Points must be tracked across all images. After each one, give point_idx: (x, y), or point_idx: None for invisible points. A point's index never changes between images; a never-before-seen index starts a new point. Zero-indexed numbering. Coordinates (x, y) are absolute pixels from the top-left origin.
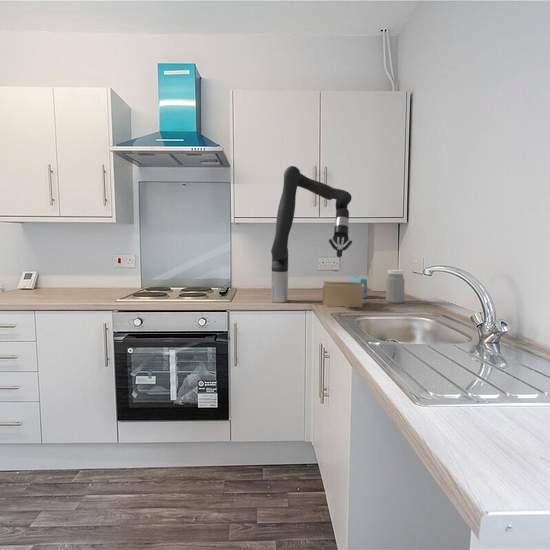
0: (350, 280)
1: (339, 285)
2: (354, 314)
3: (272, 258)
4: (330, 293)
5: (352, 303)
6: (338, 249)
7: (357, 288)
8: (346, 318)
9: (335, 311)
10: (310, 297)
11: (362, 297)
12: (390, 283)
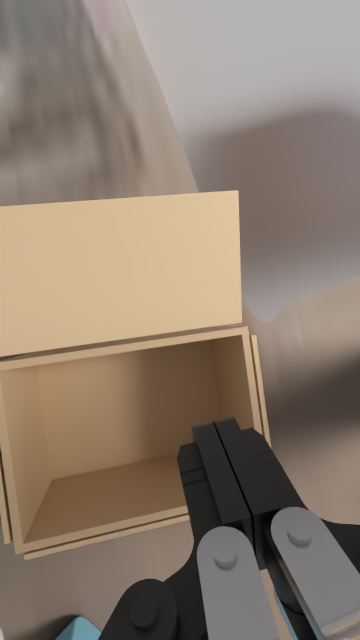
0: None
1: (180, 496)
2: (39, 166)
3: None
4: (195, 331)
5: (76, 346)
6: (281, 512)
7: (30, 357)
8: (58, 74)
9: None
10: None
11: (66, 627)
12: None
